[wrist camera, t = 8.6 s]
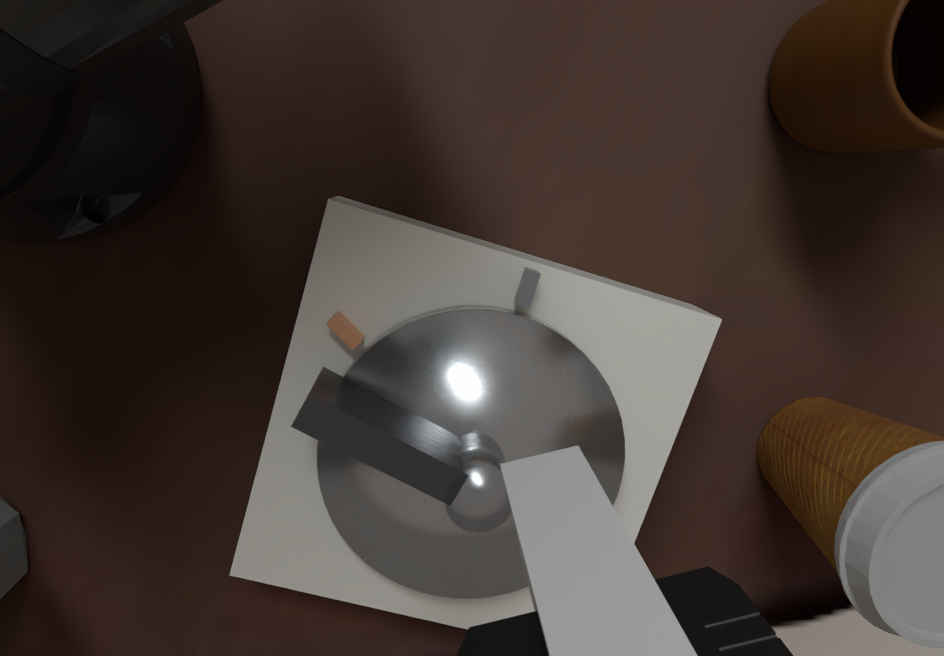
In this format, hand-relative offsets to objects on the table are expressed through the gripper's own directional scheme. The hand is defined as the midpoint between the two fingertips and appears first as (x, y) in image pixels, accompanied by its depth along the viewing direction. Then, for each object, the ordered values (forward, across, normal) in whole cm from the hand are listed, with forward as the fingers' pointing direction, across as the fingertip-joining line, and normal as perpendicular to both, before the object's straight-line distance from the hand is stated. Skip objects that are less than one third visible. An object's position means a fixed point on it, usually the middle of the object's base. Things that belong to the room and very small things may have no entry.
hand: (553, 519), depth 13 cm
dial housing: (+24, -2, -7) cm, 25 cm away
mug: (+25, +23, +6) cm, 34 cm away
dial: (+20, -2, -7) cm, 22 cm away
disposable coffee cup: (+25, +18, -14) cm, 33 cm away
